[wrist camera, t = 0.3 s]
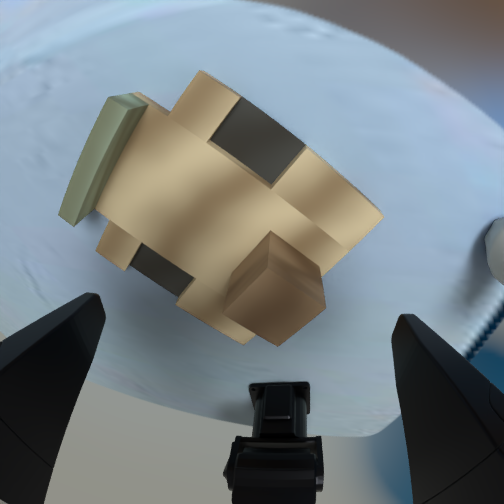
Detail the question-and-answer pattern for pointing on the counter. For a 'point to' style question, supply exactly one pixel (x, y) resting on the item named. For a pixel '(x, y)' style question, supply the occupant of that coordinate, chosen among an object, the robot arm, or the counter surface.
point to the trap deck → (208, 193)
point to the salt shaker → (496, 249)
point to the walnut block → (274, 290)
